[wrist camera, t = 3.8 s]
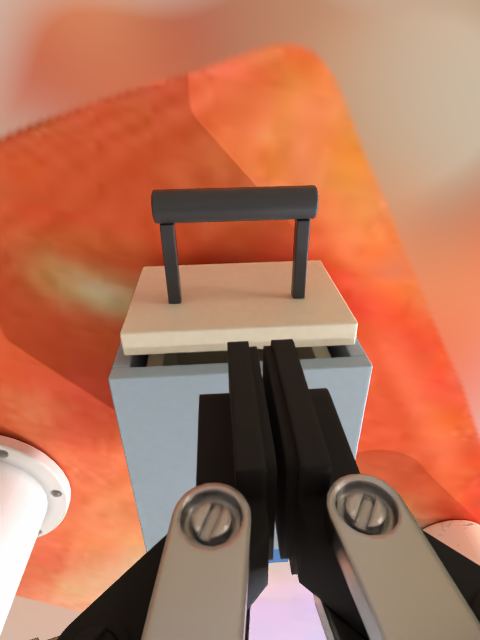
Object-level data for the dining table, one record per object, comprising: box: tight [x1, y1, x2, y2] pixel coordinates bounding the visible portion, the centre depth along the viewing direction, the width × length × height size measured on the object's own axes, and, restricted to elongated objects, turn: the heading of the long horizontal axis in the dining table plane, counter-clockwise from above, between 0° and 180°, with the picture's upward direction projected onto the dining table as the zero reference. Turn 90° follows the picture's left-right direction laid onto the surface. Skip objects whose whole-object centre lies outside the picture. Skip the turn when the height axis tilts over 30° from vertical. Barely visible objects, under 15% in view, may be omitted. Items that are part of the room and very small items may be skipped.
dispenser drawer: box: [120, 185, 358, 367], centre depth 23 cm, size 18×10×7 cm, turn 1°
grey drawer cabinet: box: [108, 337, 372, 552], centre depth 25 cm, size 14×12×9 cm
